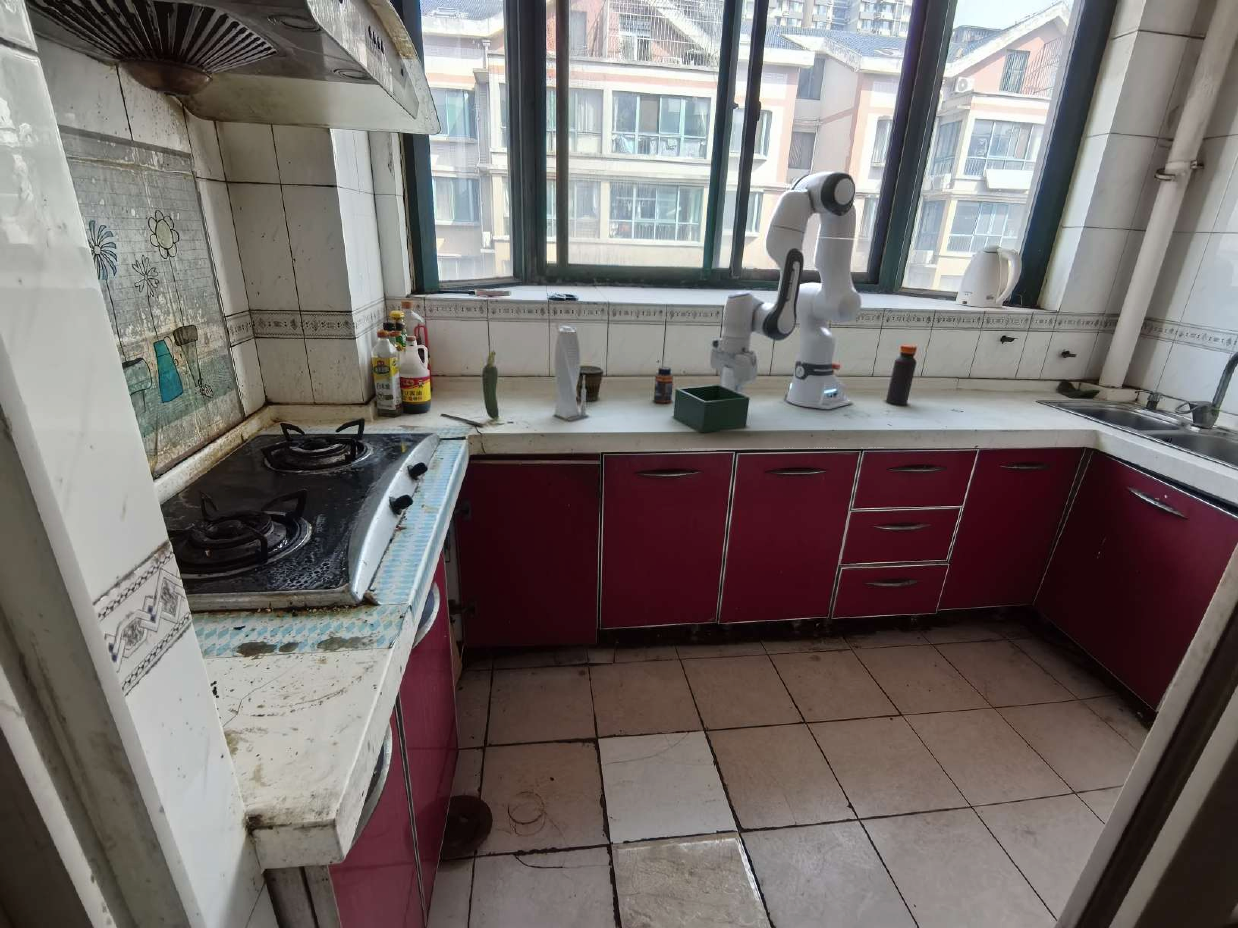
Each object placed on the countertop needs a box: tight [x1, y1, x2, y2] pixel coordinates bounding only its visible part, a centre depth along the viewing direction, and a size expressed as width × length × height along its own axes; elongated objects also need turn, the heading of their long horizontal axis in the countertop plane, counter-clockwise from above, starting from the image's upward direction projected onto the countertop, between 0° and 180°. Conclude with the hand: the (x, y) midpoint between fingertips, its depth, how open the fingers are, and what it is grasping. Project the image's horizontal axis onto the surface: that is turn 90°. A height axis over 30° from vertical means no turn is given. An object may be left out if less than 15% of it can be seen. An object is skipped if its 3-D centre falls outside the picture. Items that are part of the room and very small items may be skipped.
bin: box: [673, 384, 751, 434], centre depth 176 cm, size 16×16×9 cm
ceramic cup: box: [575, 365, 604, 402], centre depth 193 cm, size 13×10×10 cm
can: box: [720, 366, 742, 394], centre depth 189 cm, size 6×6×12 cm
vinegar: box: [885, 344, 918, 406], centre depth 204 cm, size 7×7×20 cm
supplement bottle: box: [653, 366, 674, 404], centre depth 195 cm, size 6×6×11 cm
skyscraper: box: [553, 321, 588, 422], centre depth 172 cm, size 8×8×28 cm
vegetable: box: [481, 350, 500, 421], centre depth 167 cm, size 4×4×20 cm
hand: (731, 388), depth 190 cm, fingers closed on can, 6 cm apart
